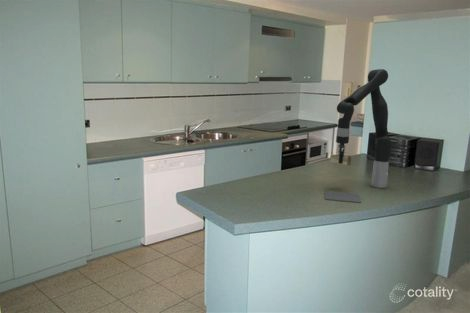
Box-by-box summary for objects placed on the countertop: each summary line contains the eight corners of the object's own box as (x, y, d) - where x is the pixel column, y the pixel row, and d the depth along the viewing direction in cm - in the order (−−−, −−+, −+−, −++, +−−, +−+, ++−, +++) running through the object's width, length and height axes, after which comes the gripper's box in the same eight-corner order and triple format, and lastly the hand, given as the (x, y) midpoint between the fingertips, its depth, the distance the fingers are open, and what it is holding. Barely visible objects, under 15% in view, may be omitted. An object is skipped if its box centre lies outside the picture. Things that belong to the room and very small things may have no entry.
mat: (358, 195, 243) (358, 194, 243) (361, 203, 229) (361, 202, 229) (324, 192, 247) (324, 191, 247) (325, 199, 233) (325, 198, 233)
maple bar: (330, 162, 255) (330, 154, 254) (349, 163, 253) (350, 155, 252) (330, 163, 251) (331, 155, 250) (350, 165, 248) (351, 157, 247)
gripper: (336, 133, 255) (333, 159, 259) (337, 136, 242) (334, 164, 245) (348, 133, 254) (345, 160, 258) (350, 137, 240) (347, 165, 244)
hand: (340, 162), depth 251 cm, fingers closed on maple bar, 4 cm apart
